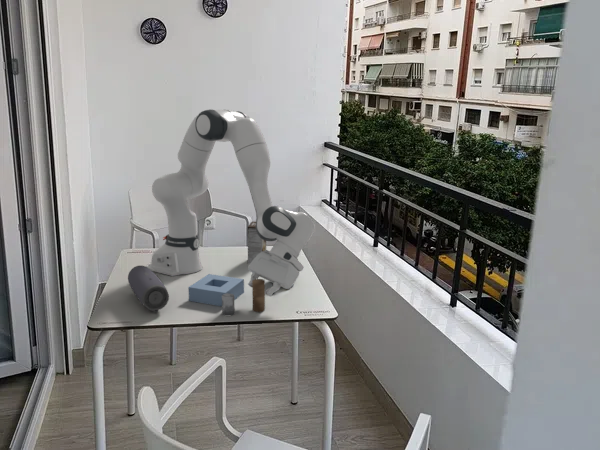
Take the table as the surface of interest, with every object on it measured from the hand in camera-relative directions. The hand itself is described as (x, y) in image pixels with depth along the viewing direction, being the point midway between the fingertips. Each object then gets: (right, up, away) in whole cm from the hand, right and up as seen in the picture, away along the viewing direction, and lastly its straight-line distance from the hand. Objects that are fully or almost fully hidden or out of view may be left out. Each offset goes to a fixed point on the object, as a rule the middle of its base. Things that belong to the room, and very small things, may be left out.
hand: (258, 290), depth 167 cm
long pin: (0, -6, +2) cm, 7 cm away
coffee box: (-5, +6, +50) cm, 51 cm away
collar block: (-16, -4, +12) cm, 20 cm away
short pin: (-10, -7, -1) cm, 12 cm away
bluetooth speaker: (-38, -5, +7) cm, 39 cm away
